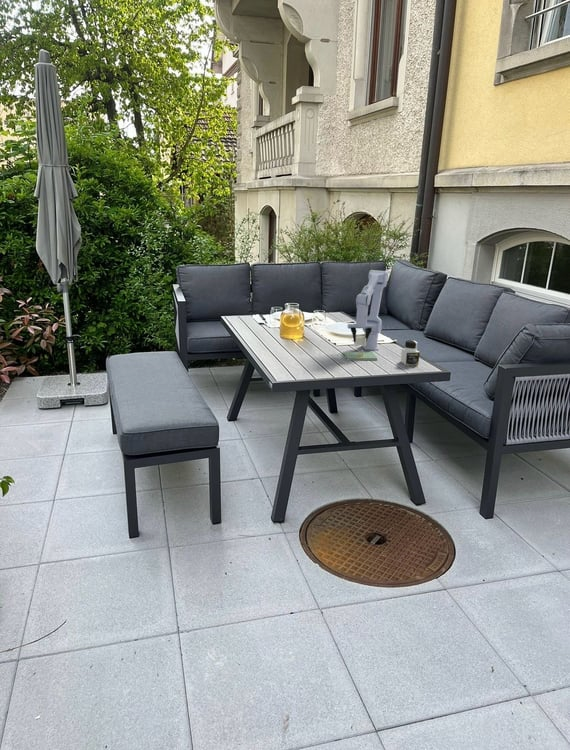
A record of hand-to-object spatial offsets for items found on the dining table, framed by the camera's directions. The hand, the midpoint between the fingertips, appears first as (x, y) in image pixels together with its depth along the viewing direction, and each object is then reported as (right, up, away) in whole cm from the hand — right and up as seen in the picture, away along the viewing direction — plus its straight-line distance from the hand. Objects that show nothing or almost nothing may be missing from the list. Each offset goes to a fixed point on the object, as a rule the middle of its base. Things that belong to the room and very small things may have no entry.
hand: (360, 341), depth 305 cm
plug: (0, -2, 0) cm, 2 cm away
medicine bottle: (+25, -12, -8) cm, 29 cm away
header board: (0, -8, 0) cm, 8 cm away
